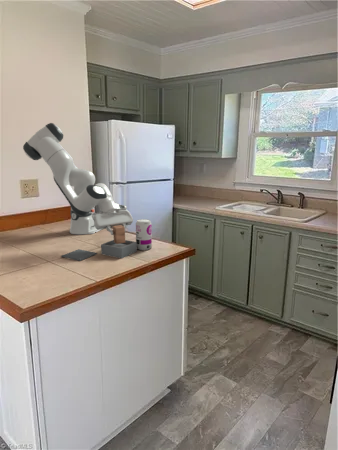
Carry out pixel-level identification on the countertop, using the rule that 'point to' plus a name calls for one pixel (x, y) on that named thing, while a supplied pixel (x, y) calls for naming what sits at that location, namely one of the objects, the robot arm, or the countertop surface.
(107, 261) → the countertop surface
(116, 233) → the block
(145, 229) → the supplement can
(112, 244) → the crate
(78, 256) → the mat
